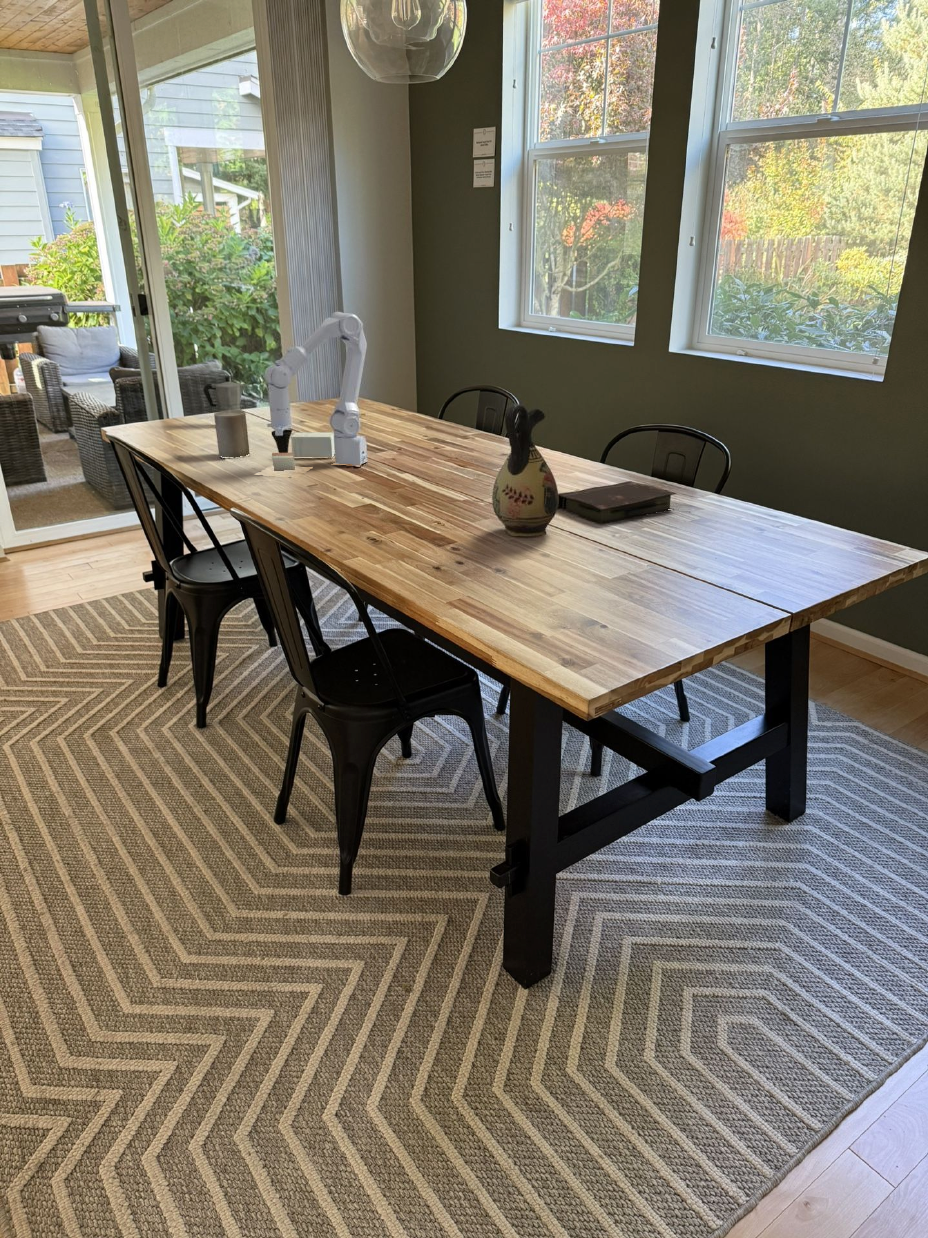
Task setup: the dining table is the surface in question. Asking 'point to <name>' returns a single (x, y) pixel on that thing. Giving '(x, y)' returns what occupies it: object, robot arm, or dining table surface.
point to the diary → (616, 502)
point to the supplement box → (313, 445)
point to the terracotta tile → (283, 461)
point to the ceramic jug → (524, 479)
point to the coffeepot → (226, 394)
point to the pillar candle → (232, 433)
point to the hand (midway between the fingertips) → (283, 455)
